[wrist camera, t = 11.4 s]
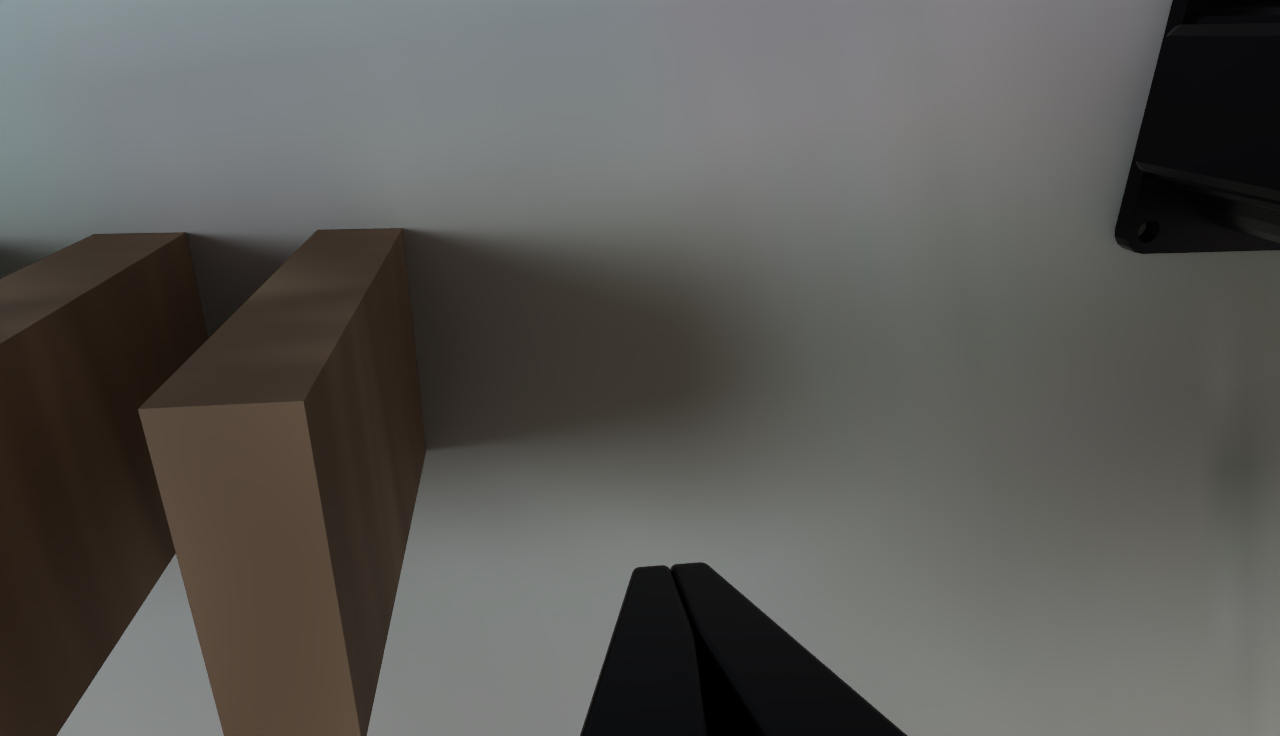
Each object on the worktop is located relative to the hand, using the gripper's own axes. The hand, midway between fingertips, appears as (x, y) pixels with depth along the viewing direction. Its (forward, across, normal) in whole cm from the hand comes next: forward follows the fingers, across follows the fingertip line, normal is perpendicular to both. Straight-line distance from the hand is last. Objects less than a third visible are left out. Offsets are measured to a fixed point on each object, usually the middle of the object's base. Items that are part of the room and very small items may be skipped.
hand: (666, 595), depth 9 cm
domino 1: (+8, +9, 0) cm, 12 cm away
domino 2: (+9, +5, 0) cm, 10 cm away
